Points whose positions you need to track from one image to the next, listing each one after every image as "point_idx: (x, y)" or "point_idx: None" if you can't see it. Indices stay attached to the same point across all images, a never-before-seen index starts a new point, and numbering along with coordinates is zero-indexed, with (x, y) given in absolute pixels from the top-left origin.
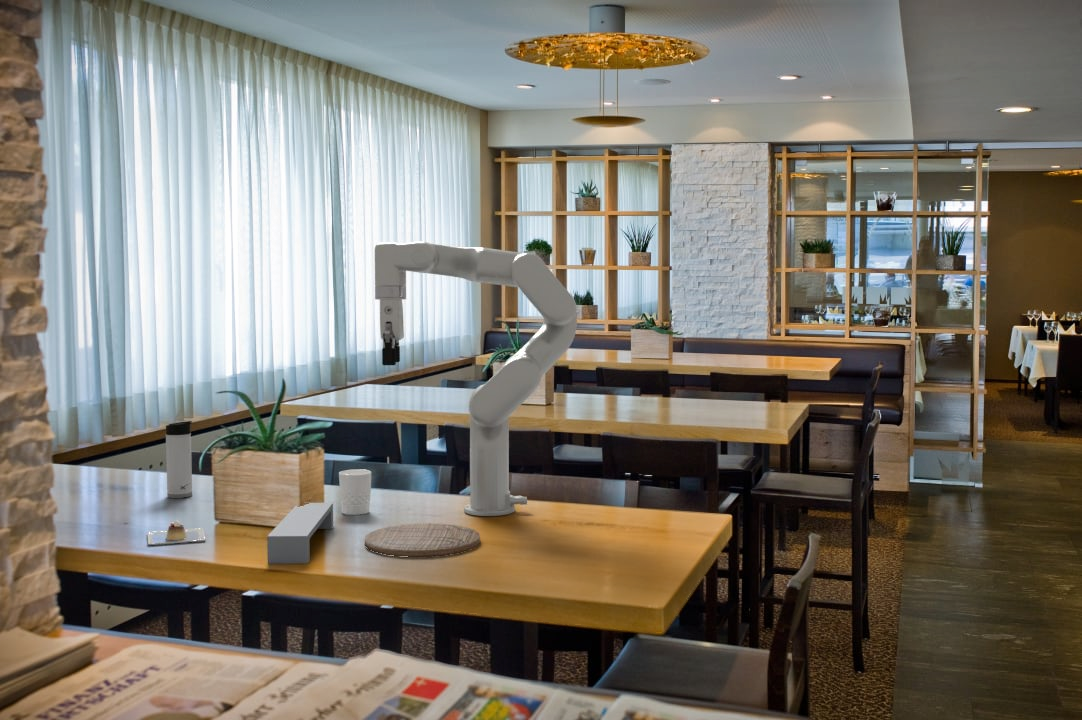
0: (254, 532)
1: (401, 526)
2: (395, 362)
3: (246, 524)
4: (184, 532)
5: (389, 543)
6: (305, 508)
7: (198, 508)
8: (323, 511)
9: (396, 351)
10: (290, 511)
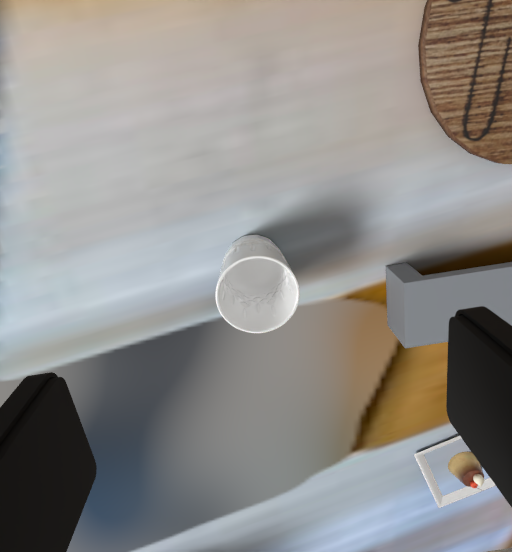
0: (429, 378)
1: (453, 108)
2: (495, 315)
3: (370, 410)
4: (469, 460)
5: None
6: None
7: (255, 515)
8: (493, 274)
9: (14, 486)
10: None
